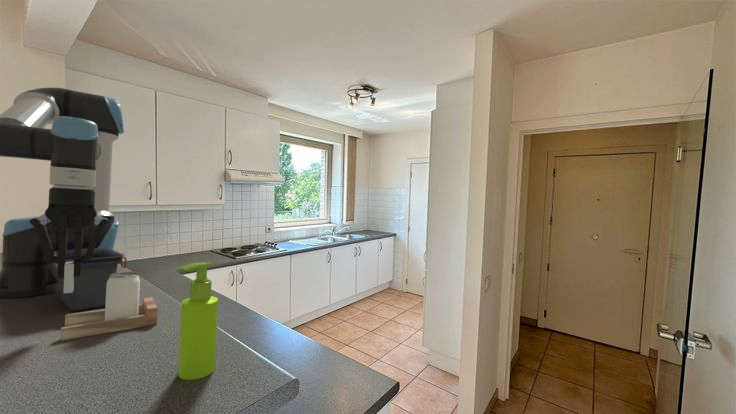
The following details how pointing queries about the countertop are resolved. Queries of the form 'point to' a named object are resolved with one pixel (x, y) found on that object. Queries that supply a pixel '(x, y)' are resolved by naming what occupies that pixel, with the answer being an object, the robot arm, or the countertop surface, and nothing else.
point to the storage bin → (91, 278)
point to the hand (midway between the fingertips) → (68, 291)
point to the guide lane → (107, 321)
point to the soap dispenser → (198, 326)
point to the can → (122, 295)
